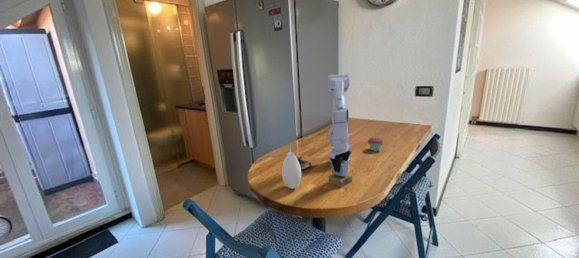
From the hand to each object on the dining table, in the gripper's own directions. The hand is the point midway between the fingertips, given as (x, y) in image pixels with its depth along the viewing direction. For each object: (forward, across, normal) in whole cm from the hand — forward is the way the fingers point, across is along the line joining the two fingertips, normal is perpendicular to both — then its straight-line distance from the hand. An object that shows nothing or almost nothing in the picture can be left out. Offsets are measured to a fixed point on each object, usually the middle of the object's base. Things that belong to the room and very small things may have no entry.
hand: (340, 169), depth 106 cm
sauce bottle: (+6, +16, -14) cm, 22 cm away
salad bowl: (+6, -4, -25) cm, 26 cm away
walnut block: (+6, 0, 0) cm, 6 cm away
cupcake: (+6, -48, -3) cm, 48 cm away
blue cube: (+2, 0, 0) cm, 2 cm away
